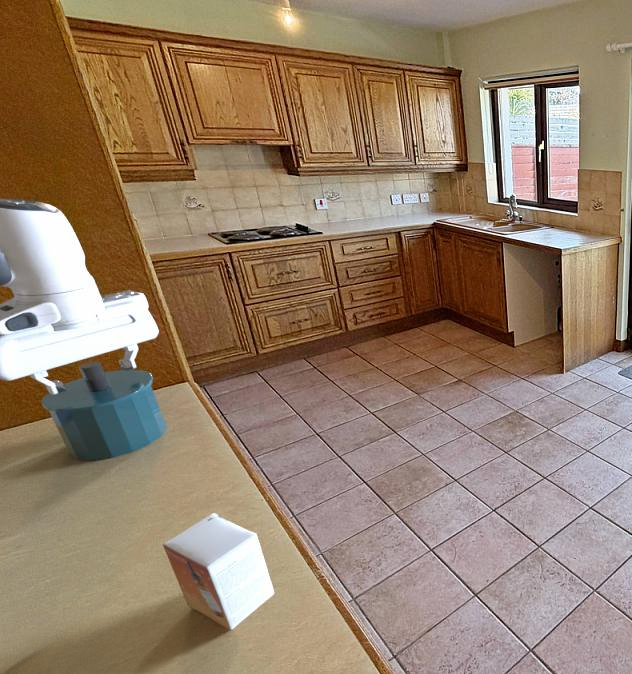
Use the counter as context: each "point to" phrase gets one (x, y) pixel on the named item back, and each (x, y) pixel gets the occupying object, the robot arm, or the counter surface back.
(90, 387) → the lid
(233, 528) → the small box
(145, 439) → the canister
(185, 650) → the counter surface
